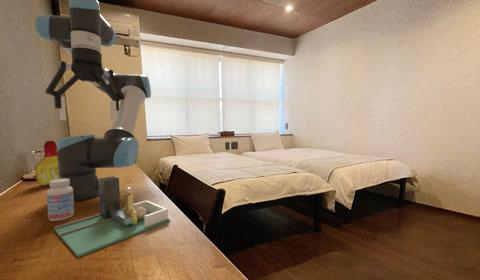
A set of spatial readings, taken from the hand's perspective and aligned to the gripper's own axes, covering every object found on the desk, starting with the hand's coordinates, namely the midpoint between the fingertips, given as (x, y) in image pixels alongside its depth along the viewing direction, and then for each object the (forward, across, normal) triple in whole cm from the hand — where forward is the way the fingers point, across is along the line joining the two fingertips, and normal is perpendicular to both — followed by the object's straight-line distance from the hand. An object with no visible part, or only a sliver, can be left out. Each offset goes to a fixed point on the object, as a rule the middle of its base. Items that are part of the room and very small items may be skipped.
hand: (90, 120), depth 69 cm
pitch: (+29, 0, -16) cm, 33 cm away
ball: (+26, +5, -19) cm, 33 cm away
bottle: (+29, 0, +51) cm, 59 cm away
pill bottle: (+29, -8, +2) cm, 30 cm away
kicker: (+28, +1, -15) cm, 31 cm away
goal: (+29, +6, -19) cm, 35 cm away
